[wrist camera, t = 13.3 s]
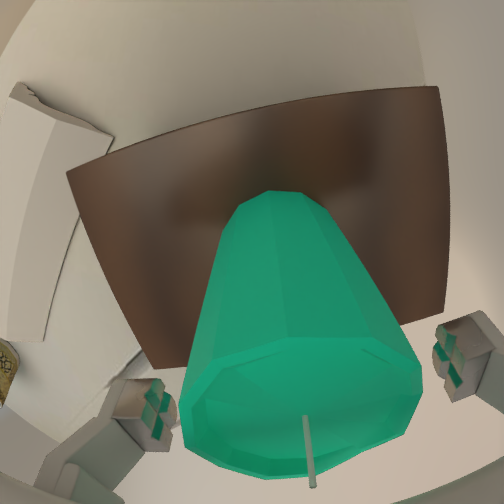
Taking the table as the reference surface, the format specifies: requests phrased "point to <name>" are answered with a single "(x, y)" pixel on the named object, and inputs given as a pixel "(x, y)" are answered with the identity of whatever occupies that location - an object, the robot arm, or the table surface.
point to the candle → (293, 349)
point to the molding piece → (37, 206)
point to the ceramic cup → (7, 368)
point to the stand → (271, 179)
